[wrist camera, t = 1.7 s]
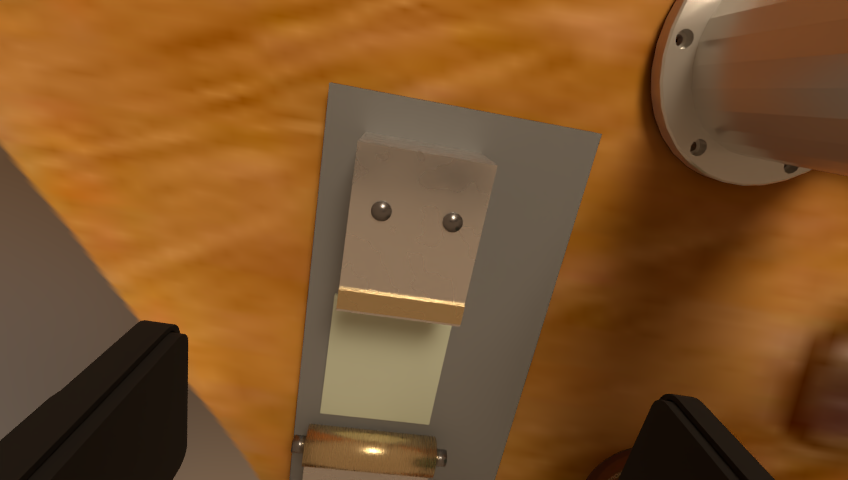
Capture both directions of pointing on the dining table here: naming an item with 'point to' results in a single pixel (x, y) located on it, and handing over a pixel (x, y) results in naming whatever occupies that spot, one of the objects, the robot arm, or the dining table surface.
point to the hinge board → (486, 298)
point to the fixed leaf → (366, 454)
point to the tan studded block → (413, 229)
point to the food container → (610, 467)
